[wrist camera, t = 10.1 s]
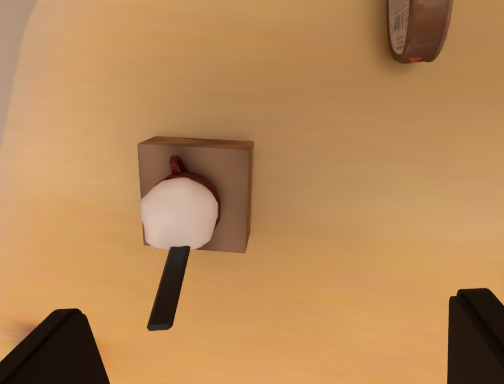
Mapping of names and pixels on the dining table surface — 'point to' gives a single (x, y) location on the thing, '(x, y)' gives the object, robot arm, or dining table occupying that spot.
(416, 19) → the tin
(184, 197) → the cocoa
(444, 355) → the dining table surface
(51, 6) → the dining table surface
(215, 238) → the walnut block
